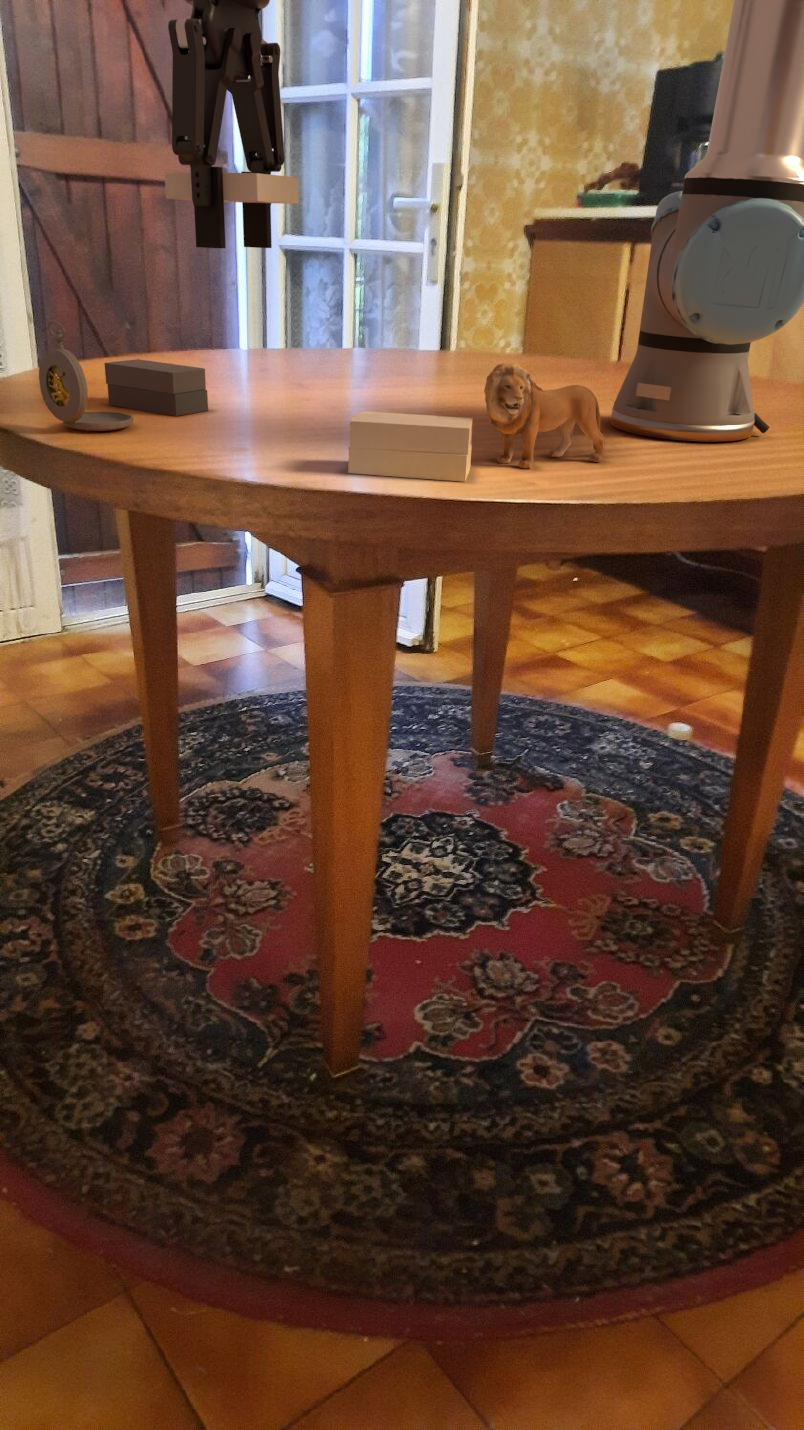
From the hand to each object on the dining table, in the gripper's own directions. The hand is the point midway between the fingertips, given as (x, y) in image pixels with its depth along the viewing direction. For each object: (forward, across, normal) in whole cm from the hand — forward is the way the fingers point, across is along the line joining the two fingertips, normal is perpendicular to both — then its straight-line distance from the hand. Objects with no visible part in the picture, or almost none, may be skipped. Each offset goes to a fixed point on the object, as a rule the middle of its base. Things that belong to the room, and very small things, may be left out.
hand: (235, 247), depth 96 cm
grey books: (+17, -4, -14) cm, 22 cm away
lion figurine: (+17, -2, +31) cm, 36 cm away
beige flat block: (-4, 0, 0) cm, 4 cm away
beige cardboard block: (+17, +8, +23) cm, 29 cm away
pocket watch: (+17, +10, -11) cm, 22 cm away
